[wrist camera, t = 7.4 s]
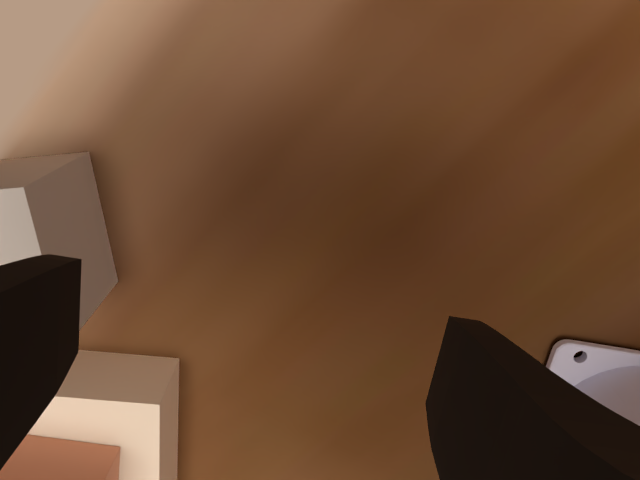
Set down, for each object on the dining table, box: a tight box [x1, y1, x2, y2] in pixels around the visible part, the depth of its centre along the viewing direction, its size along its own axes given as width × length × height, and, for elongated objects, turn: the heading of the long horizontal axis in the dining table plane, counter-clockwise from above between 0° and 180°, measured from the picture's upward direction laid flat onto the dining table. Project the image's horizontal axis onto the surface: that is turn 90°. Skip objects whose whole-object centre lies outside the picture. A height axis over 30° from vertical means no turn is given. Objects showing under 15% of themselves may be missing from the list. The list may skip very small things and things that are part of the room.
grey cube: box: [0, 152, 118, 331], centre depth 20 cm, size 5×5×5 cm
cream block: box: [27, 350, 179, 480], centre depth 24 cm, size 8×8×4 cm
